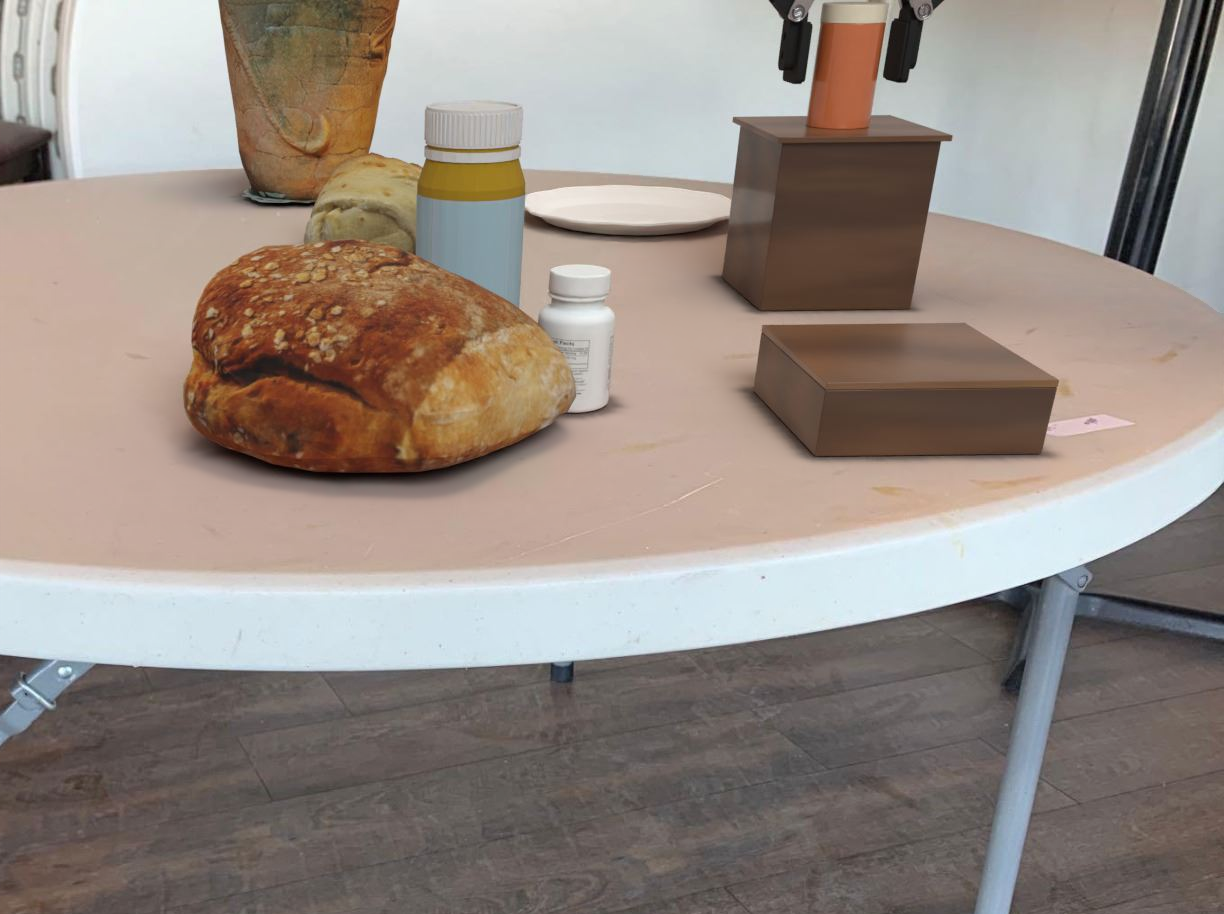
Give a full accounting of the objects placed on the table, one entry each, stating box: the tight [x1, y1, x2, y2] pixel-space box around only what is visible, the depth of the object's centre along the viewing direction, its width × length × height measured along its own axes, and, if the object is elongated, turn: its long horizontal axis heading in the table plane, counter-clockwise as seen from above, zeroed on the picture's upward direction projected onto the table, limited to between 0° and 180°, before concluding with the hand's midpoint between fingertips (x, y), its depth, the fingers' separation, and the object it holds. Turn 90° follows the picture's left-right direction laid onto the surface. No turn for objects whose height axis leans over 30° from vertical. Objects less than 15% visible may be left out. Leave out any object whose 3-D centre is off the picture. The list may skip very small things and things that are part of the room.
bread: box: [182, 239, 576, 474], centre depth 76 cm, size 20×18×10 cm
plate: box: [525, 184, 732, 236], centre depth 134 cm, size 21×21×2 cm
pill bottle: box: [537, 263, 616, 414], centre depth 81 cm, size 4×4×8 cm
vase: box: [217, 0, 400, 204], centre depth 141 cm, size 21×20×30 cm
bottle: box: [416, 100, 526, 309], centre depth 92 cm, size 7×7×15 cm
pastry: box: [302, 151, 423, 255], centre depth 120 cm, size 14×12×8 cm
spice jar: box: [806, 1, 890, 129], centre depth 100 cm, size 4×4×8 cm
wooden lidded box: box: [753, 322, 1060, 457], centre depth 78 cm, size 12×12×4 cm
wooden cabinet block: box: [721, 114, 954, 312], centre depth 104 cm, size 12×12×12 cm
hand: (844, 79), depth 100 cm, fingers open, 6 cm apart
